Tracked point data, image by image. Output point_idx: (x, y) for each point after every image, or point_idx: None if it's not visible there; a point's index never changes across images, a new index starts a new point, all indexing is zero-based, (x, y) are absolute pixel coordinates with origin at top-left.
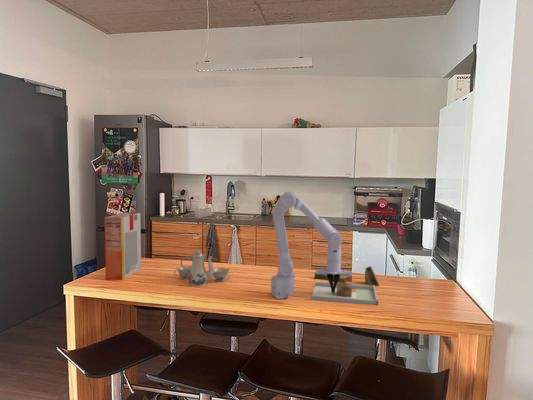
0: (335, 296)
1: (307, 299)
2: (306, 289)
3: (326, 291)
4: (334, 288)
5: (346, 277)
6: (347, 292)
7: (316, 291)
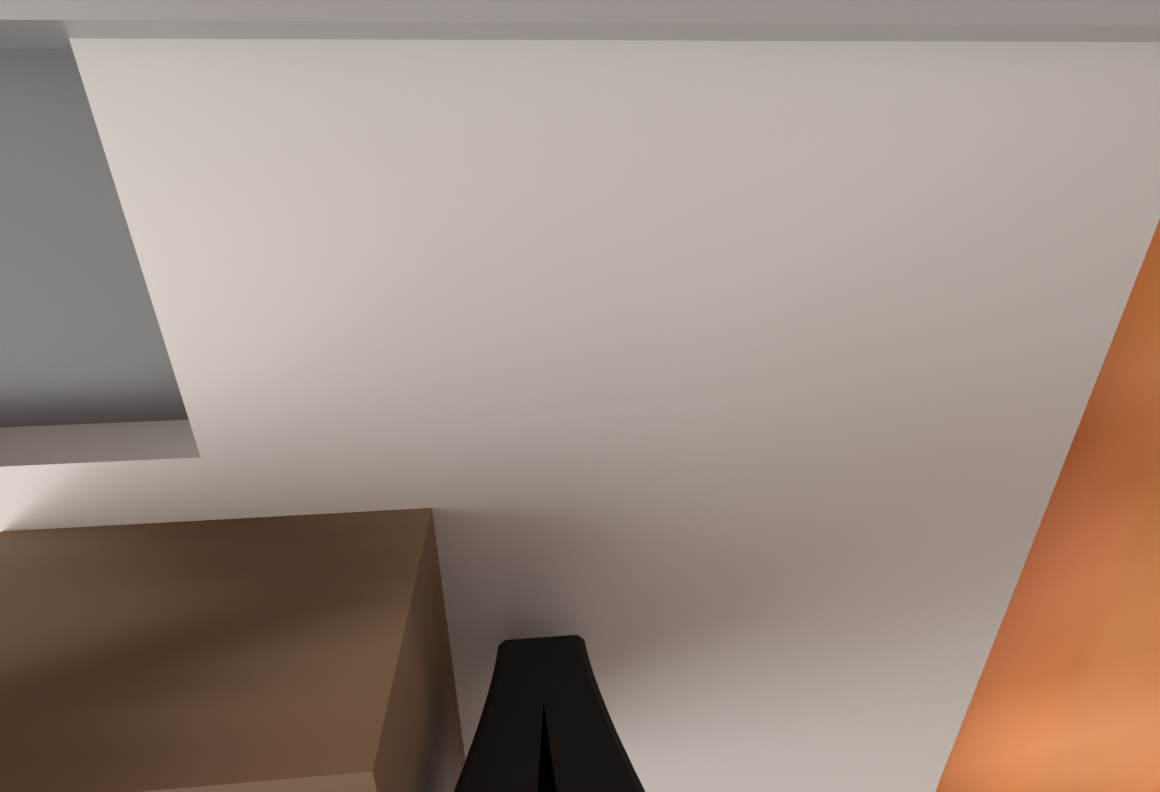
0: (458, 468)
1: (1138, 289)
2: (1005, 780)
3: (697, 715)
4: (499, 738)
5: None
6: (29, 621)
7: (920, 661)
